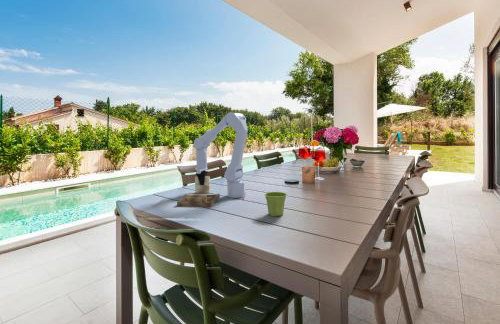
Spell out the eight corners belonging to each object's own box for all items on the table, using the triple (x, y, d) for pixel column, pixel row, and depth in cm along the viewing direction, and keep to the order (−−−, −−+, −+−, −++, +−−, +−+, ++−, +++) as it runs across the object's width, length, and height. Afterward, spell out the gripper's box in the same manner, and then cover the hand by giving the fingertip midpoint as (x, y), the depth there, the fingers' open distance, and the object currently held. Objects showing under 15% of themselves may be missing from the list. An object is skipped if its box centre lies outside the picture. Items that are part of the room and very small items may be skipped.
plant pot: (260, 215, 117) (260, 195, 116) (270, 210, 125) (269, 190, 124) (282, 219, 112) (282, 197, 111) (290, 212, 121) (290, 192, 120)
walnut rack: (219, 199, 145) (219, 193, 145) (211, 209, 127) (211, 202, 127) (189, 198, 147) (189, 193, 147) (177, 208, 129) (177, 202, 129)
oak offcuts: (206, 203, 133) (206, 194, 133) (205, 205, 130) (205, 195, 130) (188, 203, 134) (188, 194, 134) (186, 205, 131) (186, 195, 131)
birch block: (210, 192, 158) (209, 176, 157) (209, 192, 156) (209, 176, 155) (196, 192, 158) (195, 176, 157) (195, 192, 157) (194, 176, 156)
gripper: (198, 158, 163) (199, 182, 164) (190, 161, 148) (191, 187, 150) (210, 158, 162) (211, 182, 164) (203, 161, 148) (204, 187, 149)
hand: (202, 184), depth 157 cm, fingers closed on birch block, 1 cm apart
